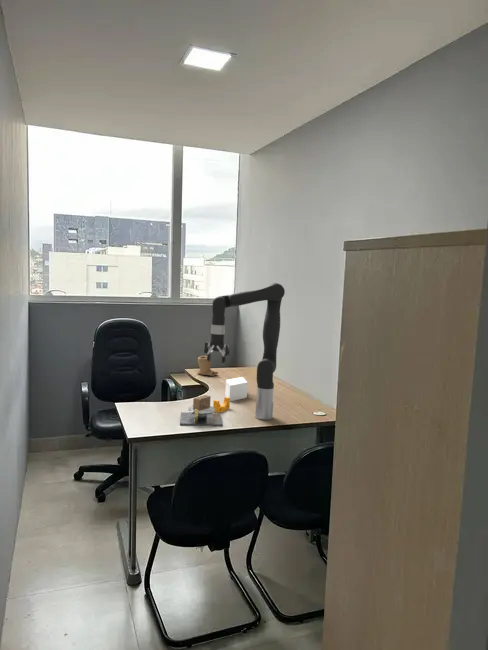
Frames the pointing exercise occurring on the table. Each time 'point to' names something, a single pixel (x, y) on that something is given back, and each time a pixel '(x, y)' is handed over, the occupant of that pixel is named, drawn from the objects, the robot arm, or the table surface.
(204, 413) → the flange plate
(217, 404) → the pipe clamp
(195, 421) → the dowel pin
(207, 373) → the tan irregular piece
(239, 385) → the white block
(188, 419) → the post base
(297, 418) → the table surface
